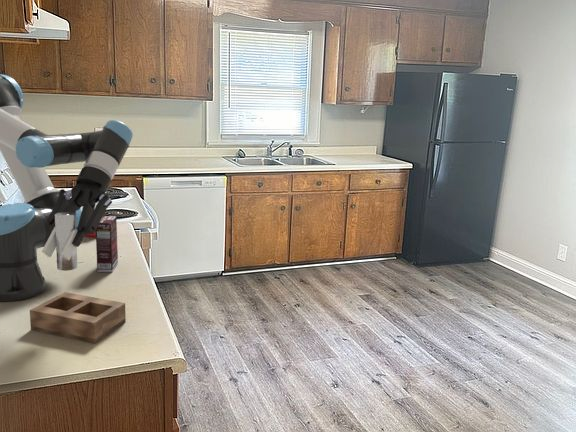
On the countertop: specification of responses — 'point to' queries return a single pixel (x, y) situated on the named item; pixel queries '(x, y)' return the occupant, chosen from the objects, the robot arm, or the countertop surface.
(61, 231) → the pin
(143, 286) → the countertop surface
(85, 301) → the socket block
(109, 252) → the supplement box
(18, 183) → the robot arm
